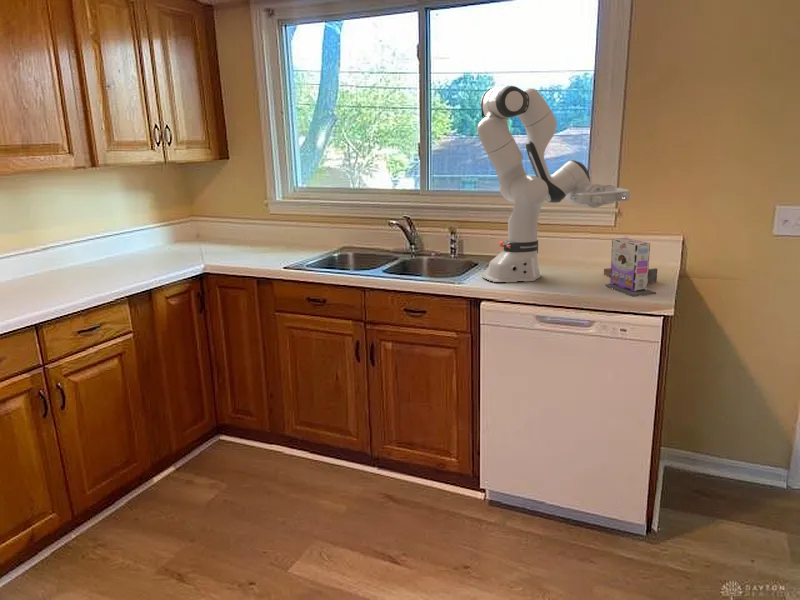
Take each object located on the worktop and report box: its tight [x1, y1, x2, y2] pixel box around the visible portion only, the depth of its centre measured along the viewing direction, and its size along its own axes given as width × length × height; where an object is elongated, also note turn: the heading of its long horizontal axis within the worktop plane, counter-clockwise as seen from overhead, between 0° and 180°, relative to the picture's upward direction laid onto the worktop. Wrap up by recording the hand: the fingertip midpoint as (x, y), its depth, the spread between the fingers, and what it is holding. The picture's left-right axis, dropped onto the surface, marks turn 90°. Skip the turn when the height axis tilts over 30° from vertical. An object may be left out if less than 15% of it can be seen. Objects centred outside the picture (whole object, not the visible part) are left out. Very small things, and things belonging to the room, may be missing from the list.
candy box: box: [609, 237, 651, 291], centre depth 216 cm, size 14×6×16 cm, turn 16°
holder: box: [603, 267, 658, 284], centre depth 232 cm, size 10×18×5 cm, turn 16°
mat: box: [605, 283, 657, 297], centre depth 216 cm, size 9×16×1 cm, turn 16°
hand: (614, 198), depth 220 cm, fingers open, 8 cm apart
